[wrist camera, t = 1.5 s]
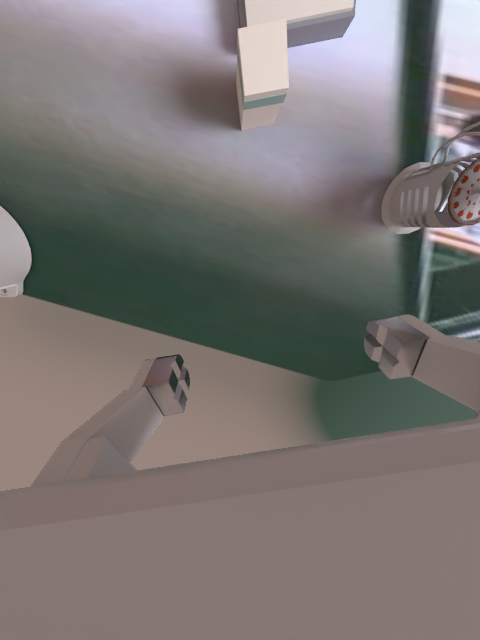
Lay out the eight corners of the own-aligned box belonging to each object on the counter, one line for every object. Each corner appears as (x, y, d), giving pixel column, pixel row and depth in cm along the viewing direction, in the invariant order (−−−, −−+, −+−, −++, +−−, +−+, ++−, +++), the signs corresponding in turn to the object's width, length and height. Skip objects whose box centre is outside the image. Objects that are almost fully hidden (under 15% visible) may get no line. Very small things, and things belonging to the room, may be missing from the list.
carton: (241, 130, 27) (244, 96, 20) (235, 85, 25) (237, 28, 18) (273, 124, 27) (288, 87, 20) (270, 78, 25) (286, 18, 18)
